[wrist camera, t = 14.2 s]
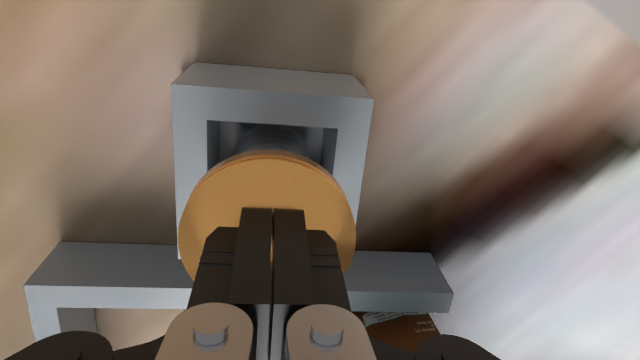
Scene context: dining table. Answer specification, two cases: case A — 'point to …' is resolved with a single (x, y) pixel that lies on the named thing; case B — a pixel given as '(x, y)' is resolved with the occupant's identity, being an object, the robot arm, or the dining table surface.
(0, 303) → the dining table surface
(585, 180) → the dining table surface
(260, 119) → the frame
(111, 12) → the dining table surface
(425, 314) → the food container
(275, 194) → the pin
